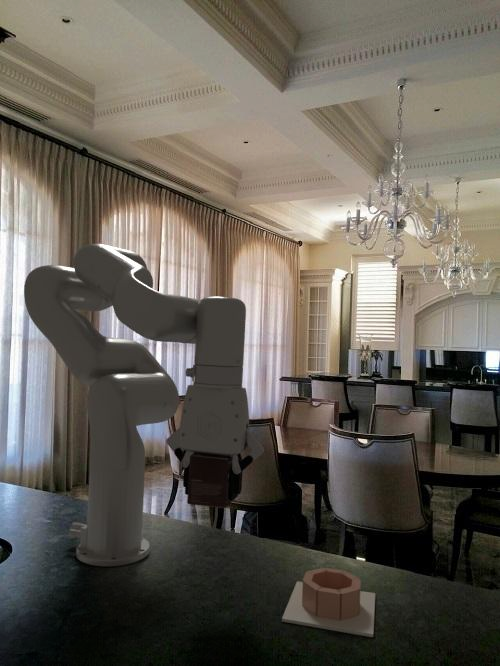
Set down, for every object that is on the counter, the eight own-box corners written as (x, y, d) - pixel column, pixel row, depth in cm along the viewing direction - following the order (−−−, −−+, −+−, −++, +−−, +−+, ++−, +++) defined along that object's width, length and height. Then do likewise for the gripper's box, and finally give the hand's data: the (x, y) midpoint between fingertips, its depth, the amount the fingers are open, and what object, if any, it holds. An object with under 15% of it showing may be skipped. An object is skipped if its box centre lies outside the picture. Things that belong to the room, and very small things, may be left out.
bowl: (299, 613, 70) (299, 587, 70) (307, 588, 77) (308, 565, 78) (358, 623, 68) (358, 597, 68) (361, 597, 75) (361, 573, 75)
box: (225, 509, 74) (228, 458, 74) (186, 505, 75) (188, 455, 75) (235, 498, 79) (237, 451, 80) (198, 494, 81) (201, 447, 81)
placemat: (281, 621, 68) (281, 618, 68) (297, 583, 80) (297, 581, 80) (373, 637, 65) (373, 634, 65) (375, 595, 77) (375, 593, 77)
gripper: (156, 374, 76) (148, 494, 76) (267, 382, 72) (260, 510, 71) (176, 373, 84) (169, 482, 83) (278, 380, 79) (272, 496, 79)
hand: (211, 494), depth 77 cm, fingers closed on box, 6 cm apart
